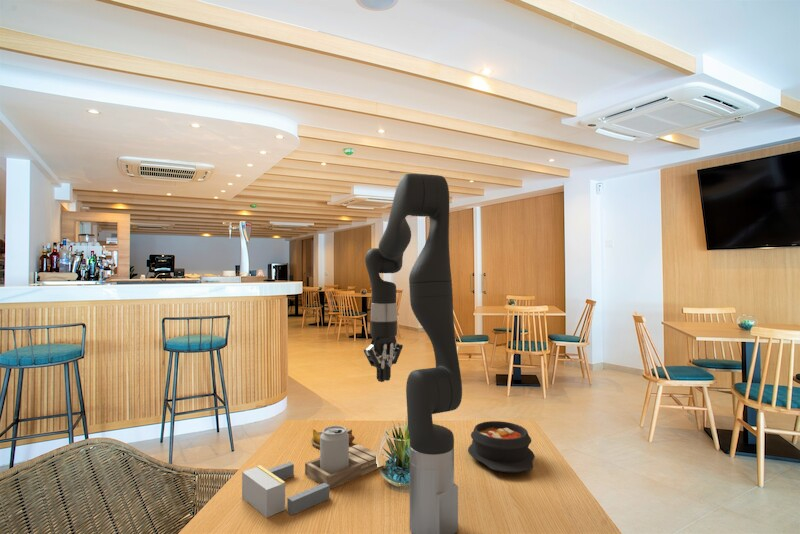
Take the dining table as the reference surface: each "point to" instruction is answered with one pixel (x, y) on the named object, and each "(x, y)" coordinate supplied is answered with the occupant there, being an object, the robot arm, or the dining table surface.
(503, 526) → the dining table surface
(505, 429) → the casserole
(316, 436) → the toy sandwich meal
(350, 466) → the pallet
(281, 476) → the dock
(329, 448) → the can
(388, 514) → the dining table surface
